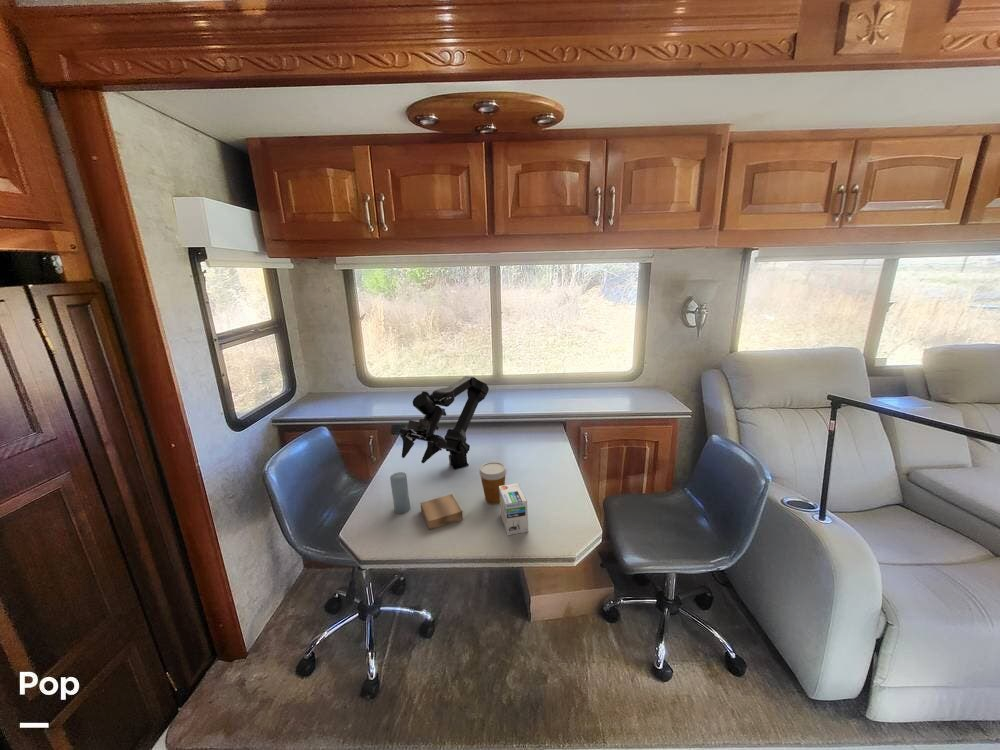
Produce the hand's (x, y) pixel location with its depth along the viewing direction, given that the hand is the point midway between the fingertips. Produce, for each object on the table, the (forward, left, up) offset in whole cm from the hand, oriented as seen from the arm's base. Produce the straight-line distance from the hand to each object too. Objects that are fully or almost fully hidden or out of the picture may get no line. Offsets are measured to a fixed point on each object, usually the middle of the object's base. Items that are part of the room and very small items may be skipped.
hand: (412, 460), depth 130 cm
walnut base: (-5, +15, -14) cm, 21 cm away
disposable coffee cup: (-24, +15, -14) cm, 32 cm away
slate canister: (+6, +6, -14) cm, 16 cm away
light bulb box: (-24, +30, -14) cm, 41 cm away
